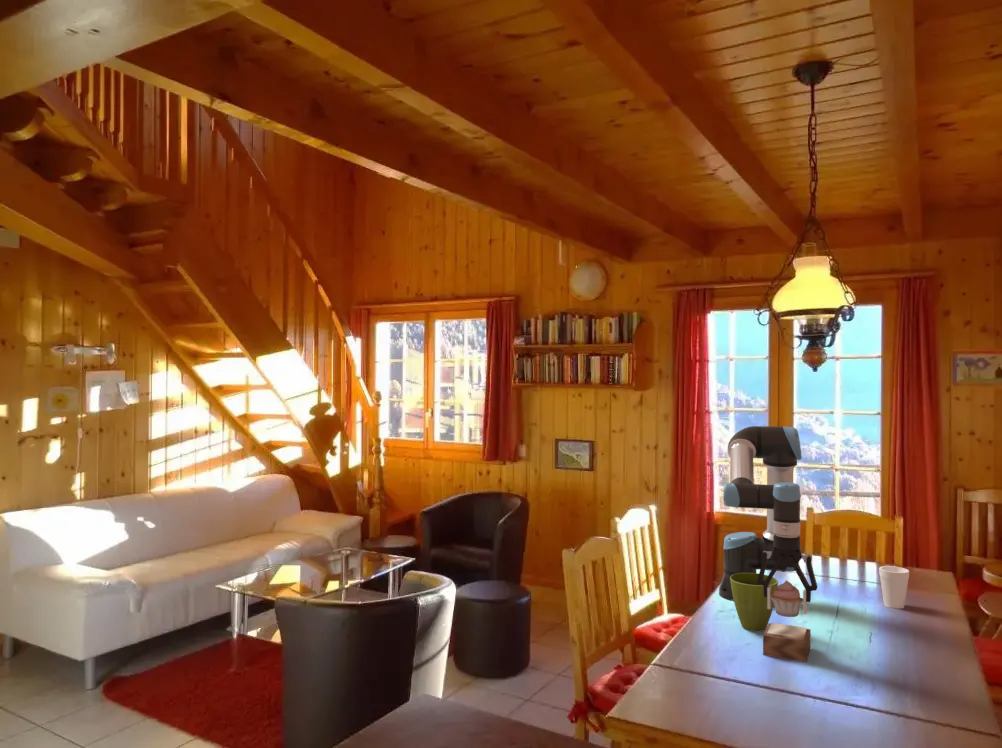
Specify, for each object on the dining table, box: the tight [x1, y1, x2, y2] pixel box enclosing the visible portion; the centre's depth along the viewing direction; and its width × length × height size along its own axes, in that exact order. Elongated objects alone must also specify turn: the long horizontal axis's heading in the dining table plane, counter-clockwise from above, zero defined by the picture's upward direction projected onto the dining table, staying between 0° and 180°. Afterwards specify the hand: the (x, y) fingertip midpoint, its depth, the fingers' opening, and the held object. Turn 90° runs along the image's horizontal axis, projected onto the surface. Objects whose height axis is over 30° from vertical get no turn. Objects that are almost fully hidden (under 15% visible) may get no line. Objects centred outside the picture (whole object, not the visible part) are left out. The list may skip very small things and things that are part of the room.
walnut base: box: [762, 622, 812, 663], centre depth 219 cm, size 12×12×6 cm
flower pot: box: [730, 572, 779, 632], centre depth 240 cm, size 15×15×16 cm
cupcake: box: [771, 579, 803, 618], centre depth 219 cm, size 9×9×10 cm
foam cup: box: [878, 565, 910, 610], centre depth 262 cm, size 10×9×13 cm
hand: (787, 610), depth 219 cm, fingers closed on cupcake, 9 cm apart
